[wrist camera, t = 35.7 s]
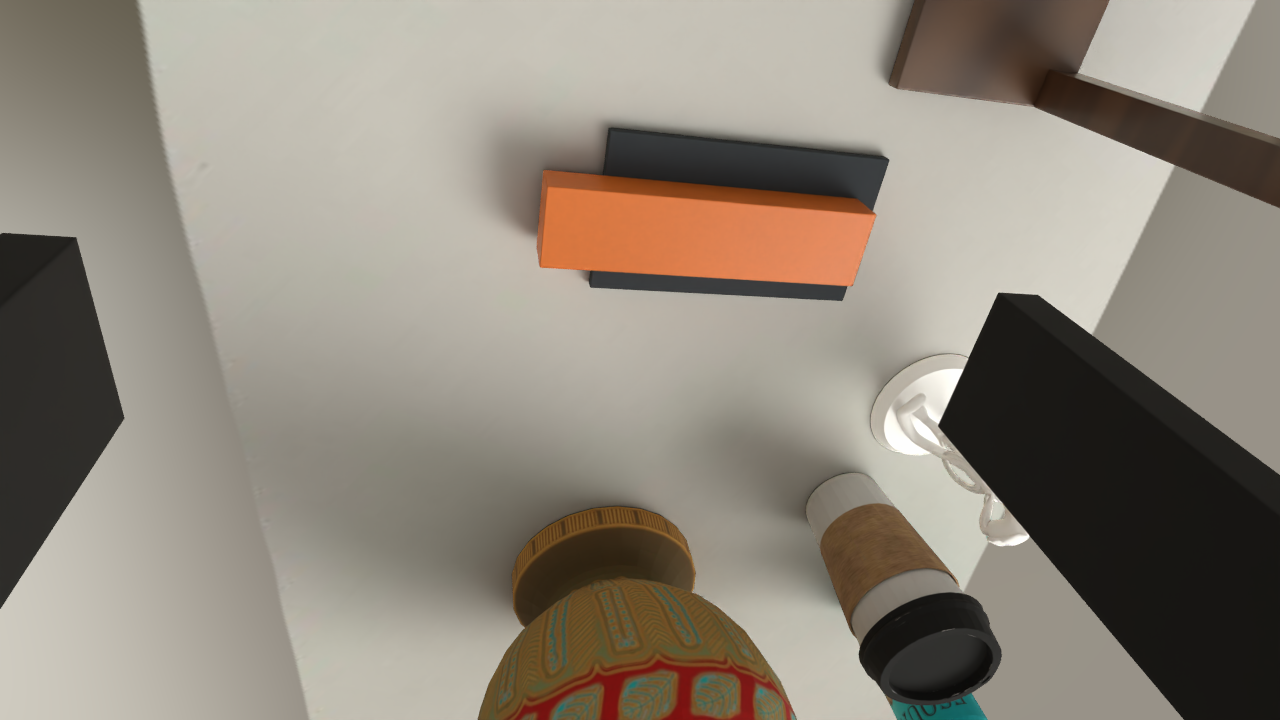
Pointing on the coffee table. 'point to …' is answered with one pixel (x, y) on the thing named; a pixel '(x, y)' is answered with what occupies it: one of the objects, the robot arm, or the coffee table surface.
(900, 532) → the coffee cup
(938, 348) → the coffee table surface
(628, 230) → the orange block
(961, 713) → the beverage can
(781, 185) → the rubber pad
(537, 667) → the vase
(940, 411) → the figurine
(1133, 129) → the walnut rack
